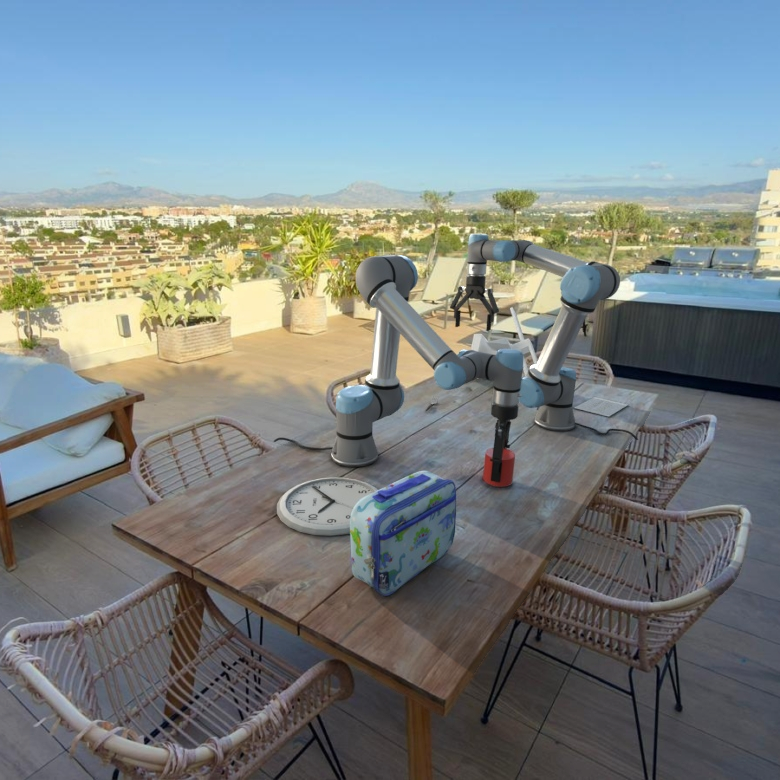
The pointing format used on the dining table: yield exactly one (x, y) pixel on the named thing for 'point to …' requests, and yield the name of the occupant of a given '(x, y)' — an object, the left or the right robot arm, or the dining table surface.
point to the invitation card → (601, 406)
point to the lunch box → (402, 530)
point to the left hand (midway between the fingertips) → (498, 474)
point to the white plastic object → (505, 344)
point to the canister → (506, 470)
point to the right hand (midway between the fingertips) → (472, 328)
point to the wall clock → (322, 505)
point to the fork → (432, 403)
